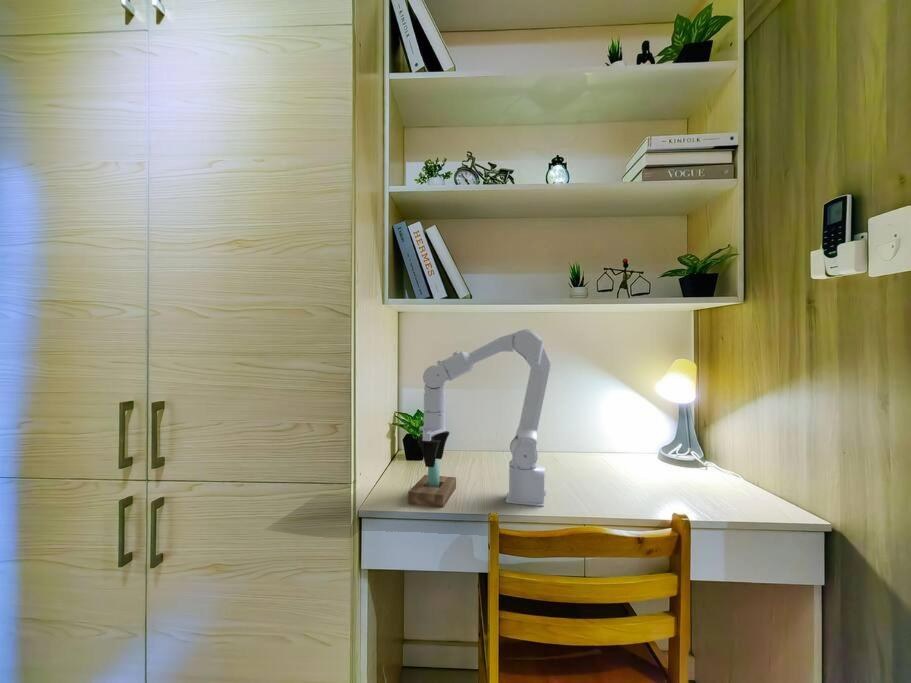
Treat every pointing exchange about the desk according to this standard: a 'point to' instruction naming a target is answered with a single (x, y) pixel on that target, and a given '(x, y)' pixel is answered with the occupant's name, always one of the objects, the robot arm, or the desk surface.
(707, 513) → the desk surface
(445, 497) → the hole block
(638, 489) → the desk surface
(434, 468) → the peg
